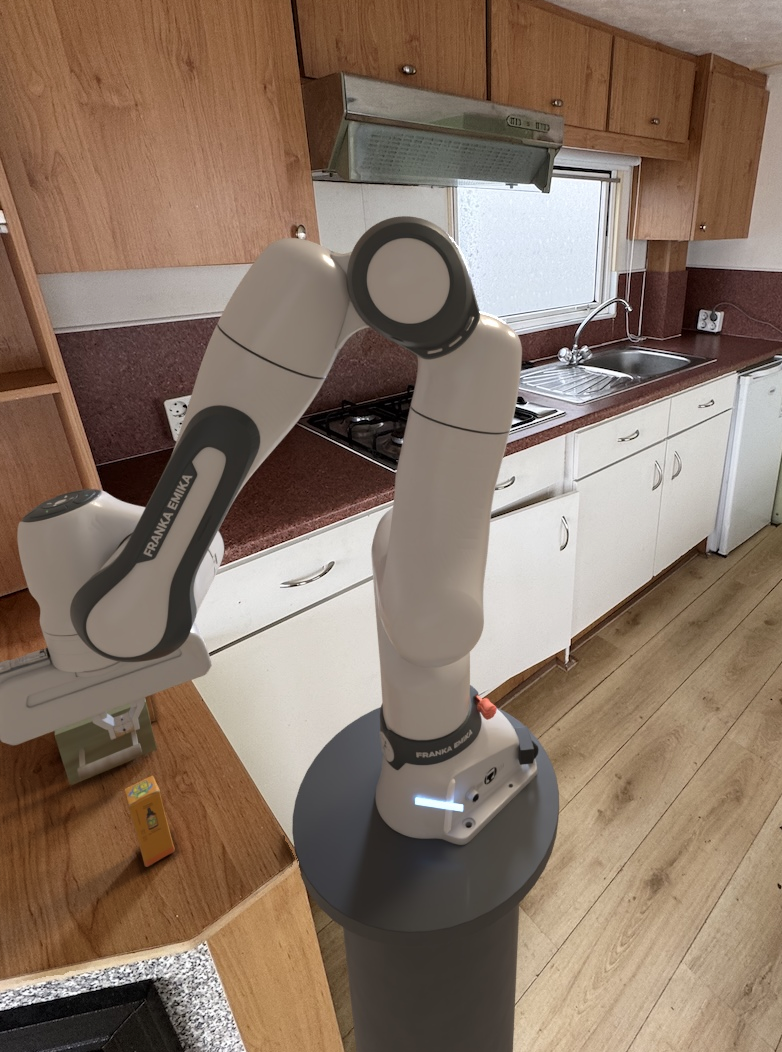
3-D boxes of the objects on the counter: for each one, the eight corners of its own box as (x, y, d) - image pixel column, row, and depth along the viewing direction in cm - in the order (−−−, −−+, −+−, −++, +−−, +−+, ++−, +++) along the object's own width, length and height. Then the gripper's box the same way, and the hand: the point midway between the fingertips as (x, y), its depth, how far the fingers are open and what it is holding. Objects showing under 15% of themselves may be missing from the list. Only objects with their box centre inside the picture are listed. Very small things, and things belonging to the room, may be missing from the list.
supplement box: (169, 832, 73) (155, 772, 70) (175, 852, 71) (161, 791, 68) (139, 848, 71) (123, 787, 68) (144, 869, 69) (128, 807, 66)
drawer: (162, 773, 81) (150, 723, 78) (71, 812, 75) (54, 760, 72) (145, 695, 94) (134, 650, 91) (67, 723, 89) (53, 677, 86)
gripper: (-31, 689, 55) (11, 796, 60) (203, 615, 67) (222, 710, 71) (-24, 654, 60) (14, 755, 65) (193, 590, 71) (212, 681, 76)
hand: (125, 731), depth 68 cm, fingers closed
